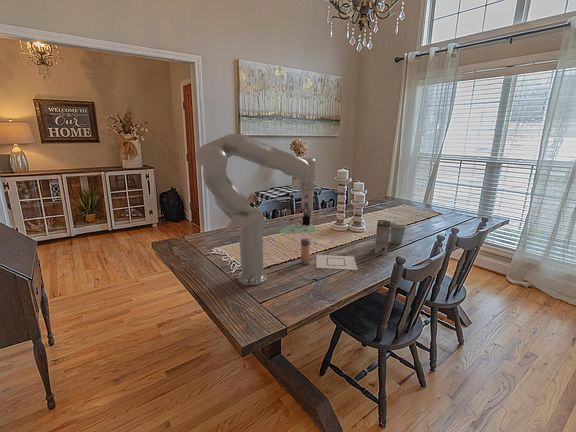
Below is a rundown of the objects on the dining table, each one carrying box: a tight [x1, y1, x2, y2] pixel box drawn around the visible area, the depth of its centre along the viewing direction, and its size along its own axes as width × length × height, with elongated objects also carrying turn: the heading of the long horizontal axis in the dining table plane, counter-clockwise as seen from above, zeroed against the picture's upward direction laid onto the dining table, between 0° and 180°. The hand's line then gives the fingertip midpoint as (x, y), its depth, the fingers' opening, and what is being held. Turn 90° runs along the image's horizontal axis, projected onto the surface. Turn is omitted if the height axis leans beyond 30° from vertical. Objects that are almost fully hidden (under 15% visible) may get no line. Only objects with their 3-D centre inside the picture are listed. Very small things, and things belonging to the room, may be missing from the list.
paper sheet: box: [315, 254, 359, 271], centre depth 149 cm, size 15×19×1 cm
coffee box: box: [374, 219, 392, 256], centre depth 160 cm, size 9×6×16 cm
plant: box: [278, 214, 317, 235], centre depth 196 cm, size 25×21×9 cm
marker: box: [300, 238, 311, 266], centre depth 145 cm, size 4×4×12 cm
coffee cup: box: [390, 220, 406, 246], centre depth 173 cm, size 9×8×12 cm
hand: (306, 221), depth 141 cm, fingers open, 9 cm apart
